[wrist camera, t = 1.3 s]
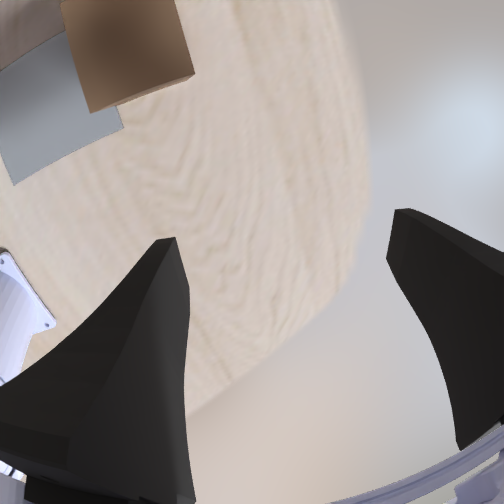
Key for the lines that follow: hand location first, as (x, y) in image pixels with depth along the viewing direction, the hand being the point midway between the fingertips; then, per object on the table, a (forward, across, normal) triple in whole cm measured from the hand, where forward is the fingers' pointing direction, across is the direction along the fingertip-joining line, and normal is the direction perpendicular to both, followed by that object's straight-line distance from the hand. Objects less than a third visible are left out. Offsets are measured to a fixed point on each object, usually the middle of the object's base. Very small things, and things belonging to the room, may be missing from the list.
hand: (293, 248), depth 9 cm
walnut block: (+11, +6, -7) cm, 15 cm away
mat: (+10, +13, -6) cm, 17 cm away
